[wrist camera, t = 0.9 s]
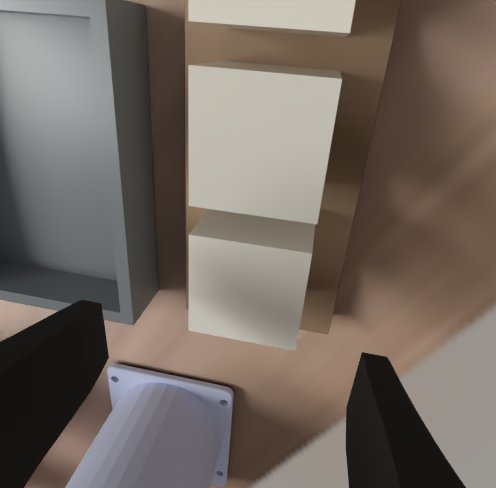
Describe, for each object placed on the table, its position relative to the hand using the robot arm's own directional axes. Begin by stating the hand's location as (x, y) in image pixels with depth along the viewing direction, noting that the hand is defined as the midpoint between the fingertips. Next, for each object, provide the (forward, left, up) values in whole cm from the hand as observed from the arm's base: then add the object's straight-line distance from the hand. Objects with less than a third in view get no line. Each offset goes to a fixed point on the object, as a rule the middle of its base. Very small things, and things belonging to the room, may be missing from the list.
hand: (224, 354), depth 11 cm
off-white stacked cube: (+5, 0, -7) cm, 8 cm away
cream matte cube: (0, 0, -7) cm, 7 cm away
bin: (+2, +10, -8) cm, 13 cm away
